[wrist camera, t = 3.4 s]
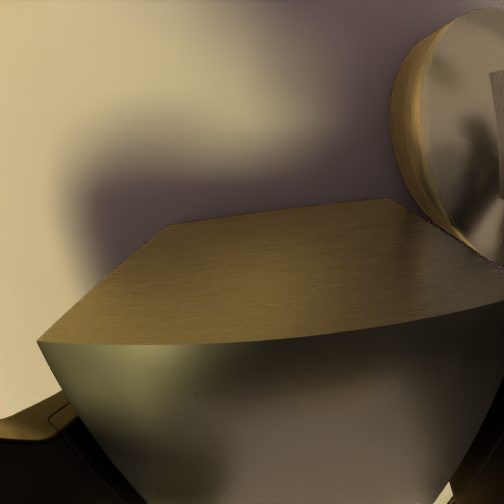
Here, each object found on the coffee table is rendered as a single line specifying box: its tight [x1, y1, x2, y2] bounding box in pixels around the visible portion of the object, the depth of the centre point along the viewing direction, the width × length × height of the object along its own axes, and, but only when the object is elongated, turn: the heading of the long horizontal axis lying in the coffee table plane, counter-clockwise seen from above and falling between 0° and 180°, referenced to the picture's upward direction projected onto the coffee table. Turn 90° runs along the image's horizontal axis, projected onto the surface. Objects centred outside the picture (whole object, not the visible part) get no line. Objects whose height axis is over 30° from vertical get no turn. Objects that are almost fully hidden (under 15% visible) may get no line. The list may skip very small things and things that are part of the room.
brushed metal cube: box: [37, 198, 504, 504], centre depth 7 cm, size 6×6×6 cm
